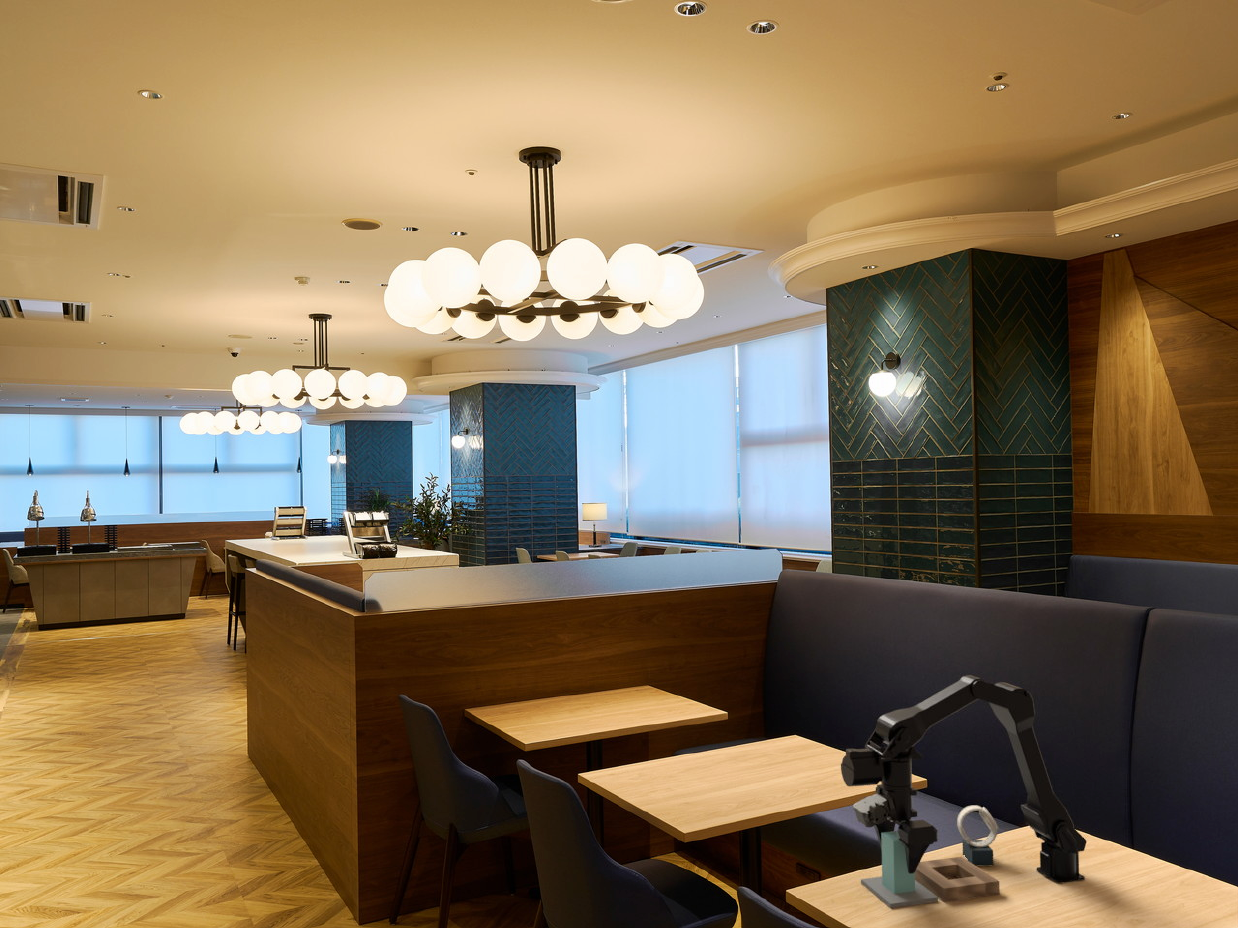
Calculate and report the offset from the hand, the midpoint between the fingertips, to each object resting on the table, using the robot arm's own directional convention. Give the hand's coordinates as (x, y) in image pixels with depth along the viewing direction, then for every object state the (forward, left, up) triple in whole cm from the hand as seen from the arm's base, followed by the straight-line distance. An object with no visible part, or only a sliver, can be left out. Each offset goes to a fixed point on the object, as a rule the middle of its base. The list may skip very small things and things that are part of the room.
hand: (898, 863), depth 177 cm
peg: (0, 0, -5) cm, 5 cm away
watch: (-24, -9, -6) cm, 26 cm away
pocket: (-12, 0, -6) cm, 13 cm away
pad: (0, 0, -6) cm, 6 cm away
